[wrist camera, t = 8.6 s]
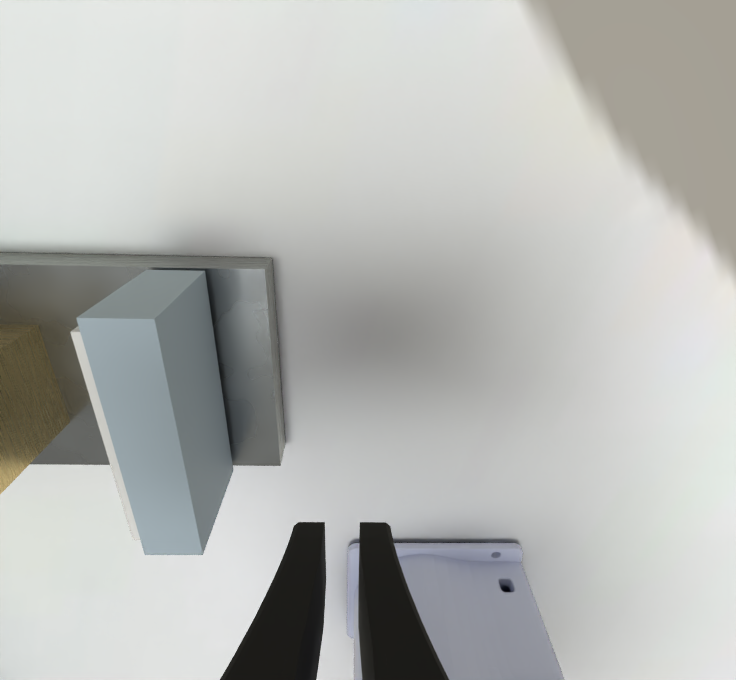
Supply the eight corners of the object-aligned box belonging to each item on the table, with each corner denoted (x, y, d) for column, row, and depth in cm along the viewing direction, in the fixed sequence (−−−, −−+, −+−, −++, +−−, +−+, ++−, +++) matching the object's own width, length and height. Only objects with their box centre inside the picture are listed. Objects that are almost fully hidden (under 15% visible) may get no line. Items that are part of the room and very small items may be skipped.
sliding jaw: (204, 270, 15) (154, 318, 11) (233, 470, 19) (202, 555, 15) (134, 269, 15) (60, 317, 11) (177, 469, 19) (133, 554, 15)
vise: (272, 257, 17) (231, 320, 11) (285, 443, 21) (260, 554, 15) (-159, 249, 16) (-411, 310, 11) (-62, 441, 20) (-213, 554, 15)
